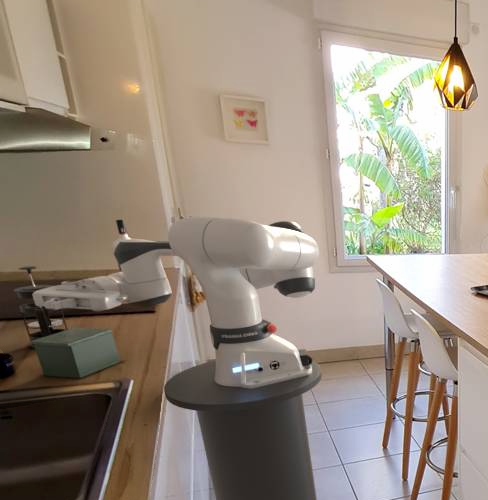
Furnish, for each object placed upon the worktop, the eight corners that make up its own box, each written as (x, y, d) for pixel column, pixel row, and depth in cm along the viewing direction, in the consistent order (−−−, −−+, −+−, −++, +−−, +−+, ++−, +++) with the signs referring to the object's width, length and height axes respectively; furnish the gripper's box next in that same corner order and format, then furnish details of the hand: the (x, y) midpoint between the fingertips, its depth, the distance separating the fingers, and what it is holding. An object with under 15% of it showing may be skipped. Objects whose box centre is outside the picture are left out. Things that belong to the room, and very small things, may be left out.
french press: (32, 341, 165) (7, 265, 156) (72, 336, 170) (50, 262, 162) (29, 352, 156) (3, 271, 148) (71, 346, 162) (48, 269, 153)
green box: (80, 378, 140) (70, 345, 137) (43, 375, 141) (33, 343, 138) (120, 362, 151) (112, 331, 148) (86, 359, 152) (77, 329, 149)
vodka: (151, 293, 226) (133, 218, 215) (153, 297, 219) (135, 220, 208) (123, 296, 220) (103, 218, 209) (125, 300, 213) (105, 221, 202)
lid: (68, 346, 136) (67, 343, 136) (30, 343, 137) (30, 341, 137) (112, 331, 148) (111, 329, 148) (77, 329, 149) (76, 326, 149)
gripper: (135, 307, 149) (91, 320, 136) (67, 303, 151) (17, 316, 138) (129, 284, 147) (84, 295, 134) (60, 280, 149) (9, 291, 136)
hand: (49, 306), depth 136 cm, fingers closed
